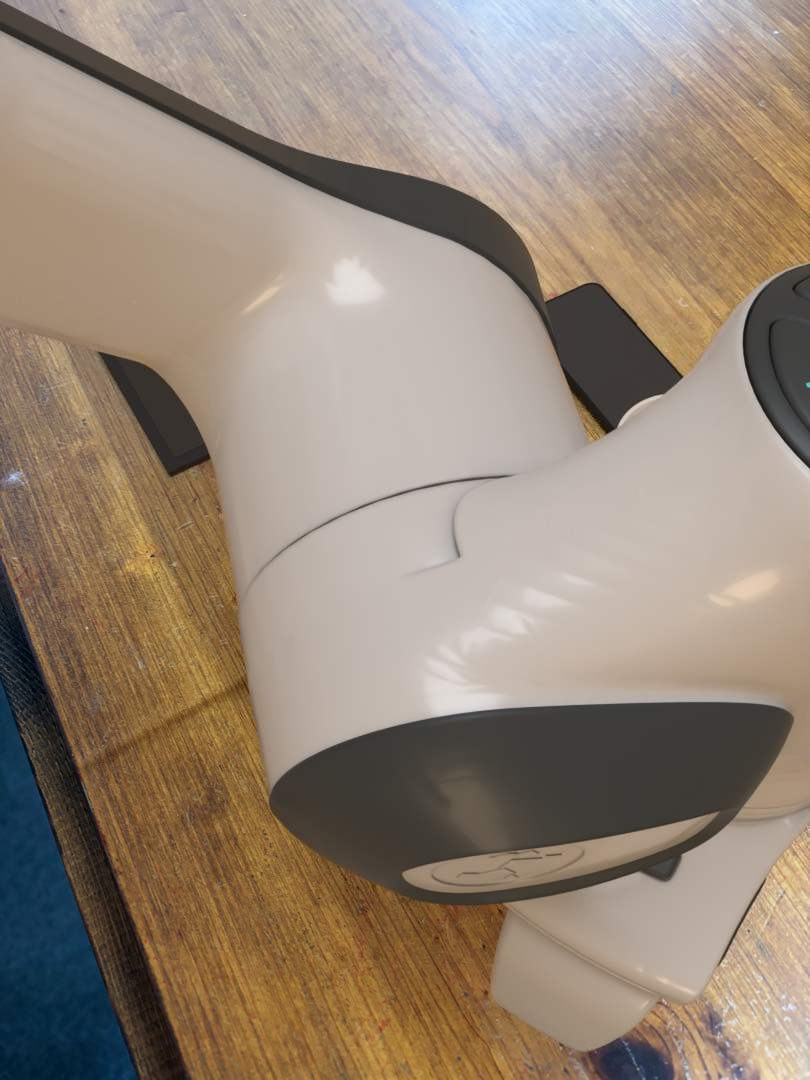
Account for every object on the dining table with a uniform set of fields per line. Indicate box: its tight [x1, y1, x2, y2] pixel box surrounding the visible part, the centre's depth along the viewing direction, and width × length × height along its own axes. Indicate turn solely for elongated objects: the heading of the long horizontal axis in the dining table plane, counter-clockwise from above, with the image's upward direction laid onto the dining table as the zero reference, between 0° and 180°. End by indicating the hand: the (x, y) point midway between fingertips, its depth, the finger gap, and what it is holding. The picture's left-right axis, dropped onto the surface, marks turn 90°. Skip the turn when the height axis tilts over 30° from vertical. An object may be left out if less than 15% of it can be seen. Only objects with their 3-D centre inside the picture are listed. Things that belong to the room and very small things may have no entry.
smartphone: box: [545, 282, 684, 434], centre depth 76 cm, size 7×1×15 cm
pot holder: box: [97, 351, 211, 477], centre depth 77 cm, size 16×16×1 cm
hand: (622, 817), depth 45 cm, fingers closed on salt shaker, 5 cm apart
